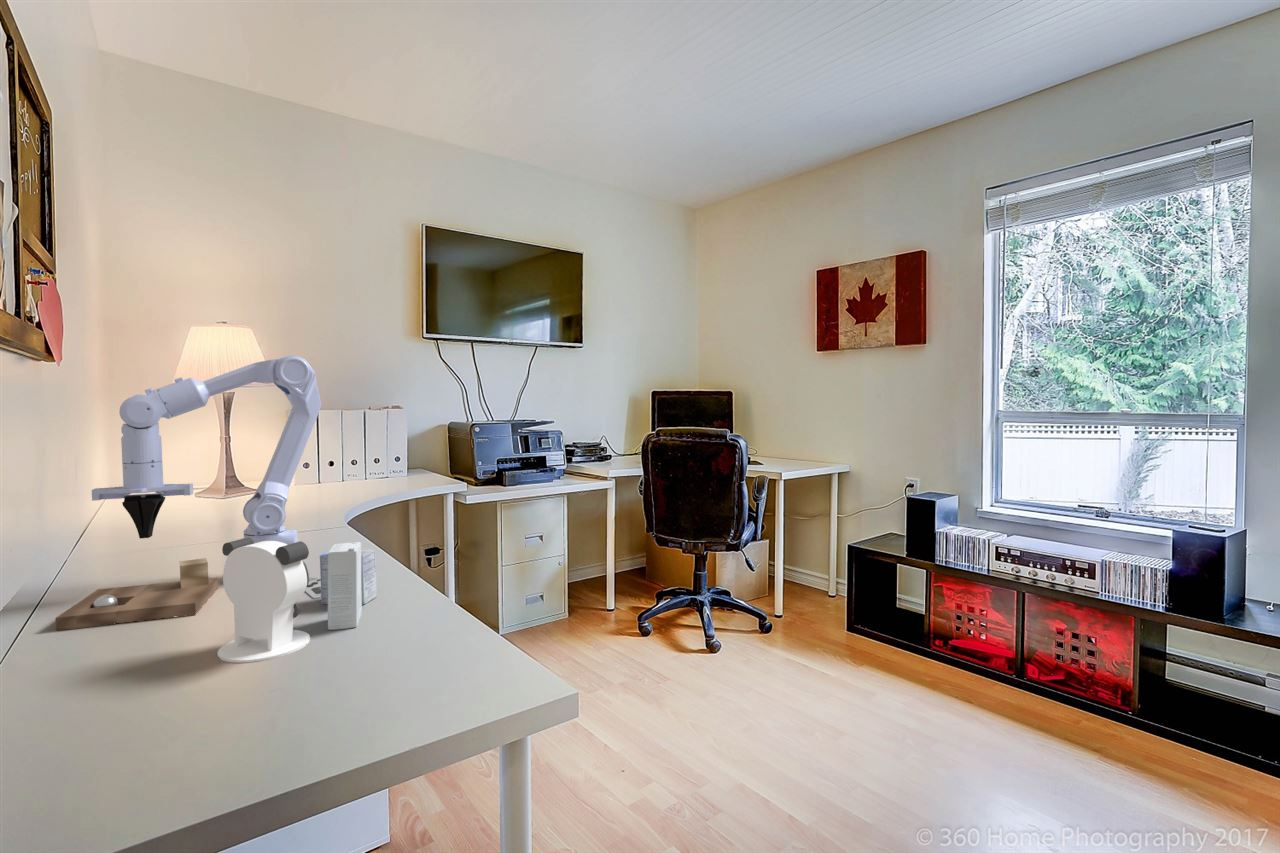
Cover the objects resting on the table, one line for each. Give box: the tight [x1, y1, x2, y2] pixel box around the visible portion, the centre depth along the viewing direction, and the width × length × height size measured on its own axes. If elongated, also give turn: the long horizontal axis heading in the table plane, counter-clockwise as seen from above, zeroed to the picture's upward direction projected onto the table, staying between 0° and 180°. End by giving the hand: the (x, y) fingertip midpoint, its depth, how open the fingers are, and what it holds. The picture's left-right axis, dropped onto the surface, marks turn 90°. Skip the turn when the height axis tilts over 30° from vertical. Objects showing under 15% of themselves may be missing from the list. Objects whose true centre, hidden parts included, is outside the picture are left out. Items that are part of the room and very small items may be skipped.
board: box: [55, 577, 219, 632], centre depth 109 cm, size 18×16×2 cm
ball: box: [93, 595, 118, 608], centre depth 106 cm, size 3×3×3 cm
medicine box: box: [319, 548, 378, 605], centre depth 112 cm, size 8×4×9 cm, turn 84°
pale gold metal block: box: [179, 557, 209, 589], centre depth 116 cm, size 4×4×4 cm
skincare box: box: [327, 541, 363, 631], centre depth 101 cm, size 6×4×12 cm
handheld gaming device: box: [304, 575, 321, 600], centre depth 122 cm, size 9×1×15 cm
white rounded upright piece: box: [217, 537, 311, 664], centre depth 91 cm, size 12×11×15 cm
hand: (145, 537), depth 117 cm, fingers closed
